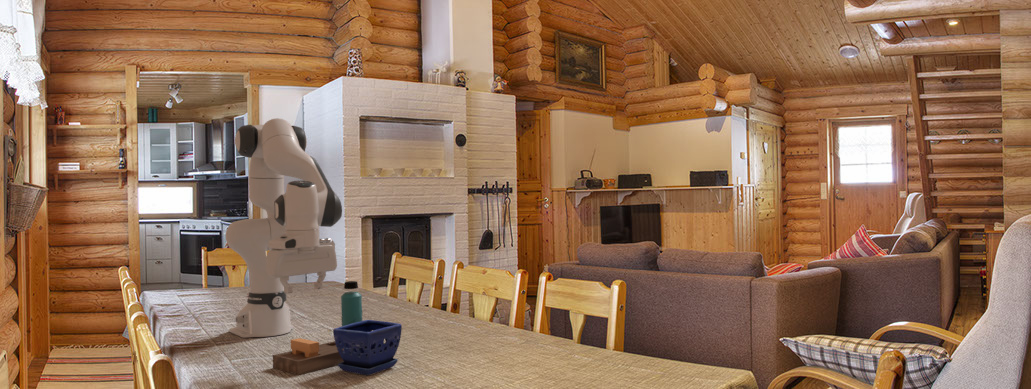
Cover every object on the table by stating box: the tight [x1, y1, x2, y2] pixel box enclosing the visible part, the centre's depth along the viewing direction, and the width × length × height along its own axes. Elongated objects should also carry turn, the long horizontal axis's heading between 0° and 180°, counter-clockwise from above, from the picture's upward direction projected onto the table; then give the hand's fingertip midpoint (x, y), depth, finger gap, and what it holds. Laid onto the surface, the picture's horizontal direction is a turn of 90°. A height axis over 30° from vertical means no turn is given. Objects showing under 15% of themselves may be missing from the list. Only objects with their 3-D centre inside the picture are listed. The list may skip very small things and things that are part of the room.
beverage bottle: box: [340, 280, 364, 326], centre depth 209 cm, size 6×7×20 cm
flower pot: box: [332, 319, 402, 376], centre depth 181 cm, size 13×13×12 cm
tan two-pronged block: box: [290, 337, 320, 358], centre depth 186 cm, size 9×3×7 cm, turn 51°
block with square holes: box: [272, 340, 344, 376], centre depth 191 cm, size 12×24×4 cm, turn 141°
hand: (303, 290), depth 186 cm, fingers open, 8 cm apart
